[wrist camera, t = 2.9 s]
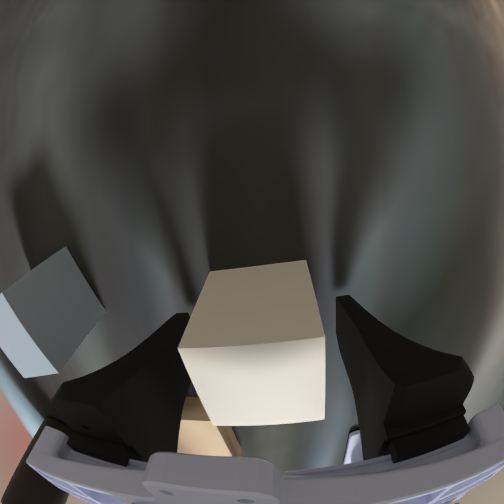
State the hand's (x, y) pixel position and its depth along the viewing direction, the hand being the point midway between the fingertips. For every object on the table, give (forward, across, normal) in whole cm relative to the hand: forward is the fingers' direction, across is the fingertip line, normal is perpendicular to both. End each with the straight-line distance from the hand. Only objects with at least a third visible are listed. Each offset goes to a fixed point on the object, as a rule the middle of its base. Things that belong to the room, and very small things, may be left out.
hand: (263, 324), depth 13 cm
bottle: (+2, +27, +18) cm, 32 cm away
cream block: (+2, 0, 0) cm, 2 cm away
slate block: (+2, +12, -2) cm, 12 cm away
